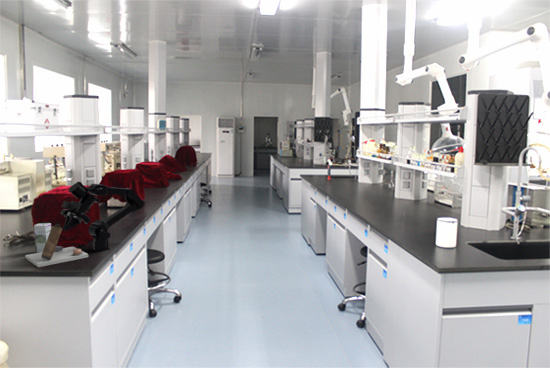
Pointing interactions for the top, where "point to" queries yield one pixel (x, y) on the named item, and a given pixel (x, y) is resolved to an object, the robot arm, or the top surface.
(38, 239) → the syrup box
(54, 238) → the walnut lever
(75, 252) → the terracotta button
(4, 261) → the top surface
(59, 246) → the grey rectangular block
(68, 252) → the control panel
